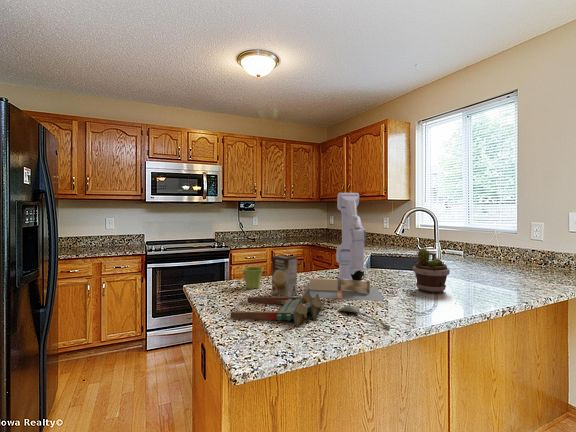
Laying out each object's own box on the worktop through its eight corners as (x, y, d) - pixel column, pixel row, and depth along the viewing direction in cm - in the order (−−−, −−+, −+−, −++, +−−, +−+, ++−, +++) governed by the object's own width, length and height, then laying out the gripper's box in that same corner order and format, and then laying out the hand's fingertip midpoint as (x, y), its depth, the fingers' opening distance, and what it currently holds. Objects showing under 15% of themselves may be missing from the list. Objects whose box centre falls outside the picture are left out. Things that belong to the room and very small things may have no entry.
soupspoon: (349, 310, 116) (335, 314, 113) (349, 301, 116) (334, 304, 113) (396, 328, 97) (380, 333, 94) (395, 317, 97) (379, 322, 94)
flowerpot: (455, 291, 139) (456, 246, 139) (439, 297, 130) (439, 248, 129) (423, 285, 151) (423, 243, 150) (406, 290, 141) (406, 245, 140)
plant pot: (259, 290, 139) (259, 271, 139) (239, 289, 142) (239, 269, 141) (266, 285, 148) (266, 267, 148) (247, 284, 151) (247, 266, 150)
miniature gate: (251, 290, 127) (326, 289, 121) (252, 304, 127) (327, 303, 121) (225, 311, 100) (319, 311, 94) (226, 329, 101) (320, 329, 95)
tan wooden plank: (341, 289, 138) (341, 278, 137) (341, 289, 139) (342, 277, 139) (369, 293, 132) (369, 281, 132) (370, 292, 133) (370, 280, 133)
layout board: (306, 285, 149) (306, 273, 148) (376, 288, 144) (376, 275, 144) (302, 298, 127) (302, 284, 127) (384, 302, 122) (384, 287, 122)
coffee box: (270, 294, 133) (271, 256, 133) (280, 291, 138) (281, 254, 138) (287, 298, 127) (288, 258, 127) (297, 295, 132) (297, 256, 132)
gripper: (360, 259, 128) (360, 293, 128) (371, 255, 140) (371, 285, 141) (344, 258, 132) (343, 290, 132) (356, 254, 144) (355, 283, 145)
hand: (356, 288), depth 137 cm, fingers closed
